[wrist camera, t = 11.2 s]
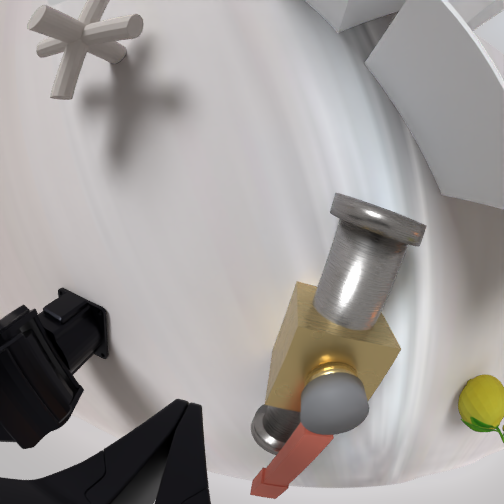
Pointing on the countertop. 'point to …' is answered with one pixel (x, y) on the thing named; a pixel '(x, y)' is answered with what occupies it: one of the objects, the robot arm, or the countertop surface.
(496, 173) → the storage container
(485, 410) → the lemon
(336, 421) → the lever
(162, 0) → the countertop surface
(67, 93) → the pipe connector
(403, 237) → the valve body
